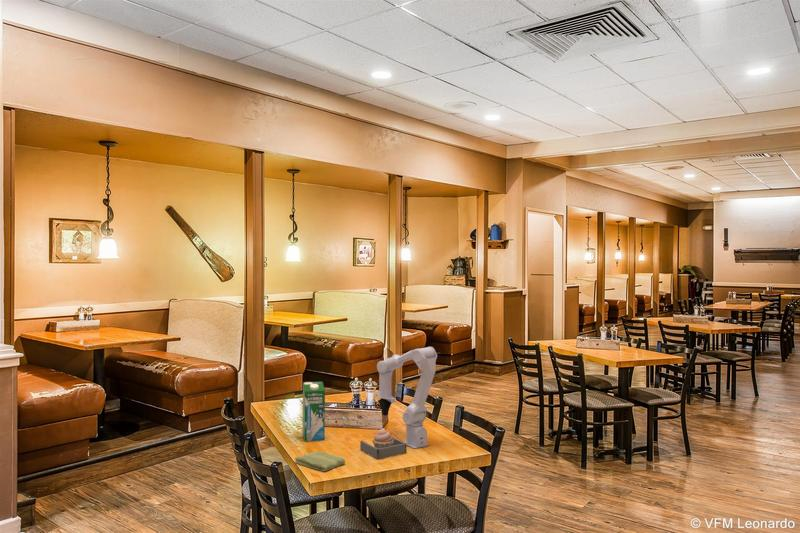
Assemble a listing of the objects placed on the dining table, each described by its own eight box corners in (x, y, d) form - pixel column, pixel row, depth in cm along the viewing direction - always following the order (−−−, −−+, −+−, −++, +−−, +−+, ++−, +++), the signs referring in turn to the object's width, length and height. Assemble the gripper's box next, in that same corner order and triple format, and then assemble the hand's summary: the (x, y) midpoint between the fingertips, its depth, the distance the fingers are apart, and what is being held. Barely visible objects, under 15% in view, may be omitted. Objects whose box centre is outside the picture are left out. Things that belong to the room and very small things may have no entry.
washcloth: (316, 455, 239) (316, 447, 239) (347, 465, 228) (347, 457, 228) (292, 463, 229) (292, 455, 229) (323, 474, 218) (323, 466, 218)
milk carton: (304, 441, 256) (304, 386, 255) (302, 435, 264) (302, 382, 264) (324, 440, 258) (325, 385, 258) (321, 434, 267) (322, 381, 266)
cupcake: (398, 451, 243) (398, 428, 243) (381, 456, 237) (381, 432, 237) (384, 446, 250) (384, 423, 250) (367, 451, 244) (367, 427, 244)
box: (406, 453, 242) (406, 443, 242) (377, 459, 234) (377, 449, 234) (388, 444, 253) (388, 435, 253) (360, 450, 245) (360, 440, 245)
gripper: (369, 384, 270) (369, 412, 270) (386, 390, 258) (386, 419, 258) (382, 382, 274) (382, 410, 274) (399, 388, 262) (399, 417, 262)
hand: (385, 415), depth 266 cm, fingers closed
